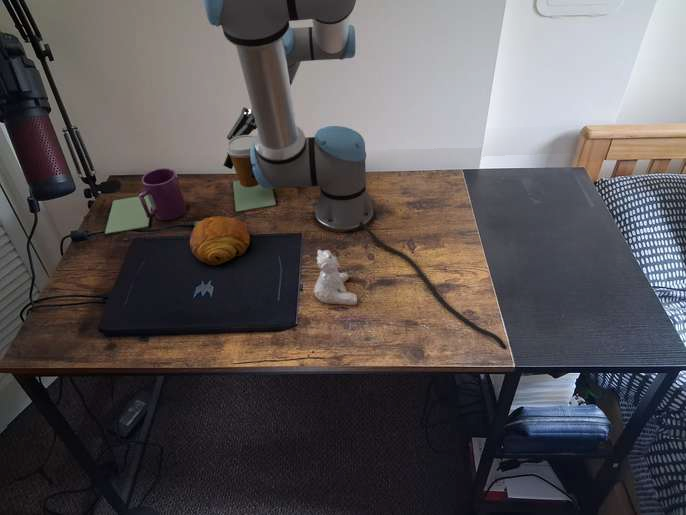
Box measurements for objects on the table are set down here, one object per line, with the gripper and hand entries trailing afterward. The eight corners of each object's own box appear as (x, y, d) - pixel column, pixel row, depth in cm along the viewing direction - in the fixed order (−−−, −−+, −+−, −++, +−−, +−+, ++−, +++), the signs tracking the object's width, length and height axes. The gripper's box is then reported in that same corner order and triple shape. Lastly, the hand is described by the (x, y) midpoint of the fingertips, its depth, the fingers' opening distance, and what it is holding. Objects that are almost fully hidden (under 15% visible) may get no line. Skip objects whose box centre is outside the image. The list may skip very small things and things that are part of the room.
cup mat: (276, 205, 126) (275, 204, 126) (236, 212, 124) (235, 211, 124) (269, 176, 138) (269, 175, 138) (233, 182, 136) (232, 181, 136)
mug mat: (148, 227, 121) (148, 226, 121) (105, 234, 119) (104, 233, 119) (153, 195, 133) (152, 194, 133) (113, 201, 131) (113, 200, 131)
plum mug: (172, 199, 131) (160, 165, 124) (193, 207, 127) (182, 172, 120) (139, 220, 123) (125, 185, 116) (161, 229, 120) (147, 194, 113)
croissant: (193, 276, 109) (182, 254, 103) (196, 230, 119) (186, 207, 113) (254, 266, 110) (247, 244, 104) (251, 221, 120) (245, 199, 114)
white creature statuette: (359, 305, 96) (358, 263, 88) (320, 315, 95) (315, 273, 87) (346, 276, 103) (344, 234, 95) (309, 285, 102) (304, 243, 94)
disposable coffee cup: (265, 190, 125) (258, 150, 117) (231, 191, 125) (221, 151, 117) (270, 172, 132) (263, 133, 124) (237, 173, 132) (229, 134, 124)
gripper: (310, 109, 121) (278, 188, 122) (251, 93, 131) (222, 165, 132) (295, 96, 114) (260, 180, 115) (234, 80, 124) (203, 157, 126)
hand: (240, 172), depth 124 cm, fingers closed on disposable coffee cup, 9 cm apart
